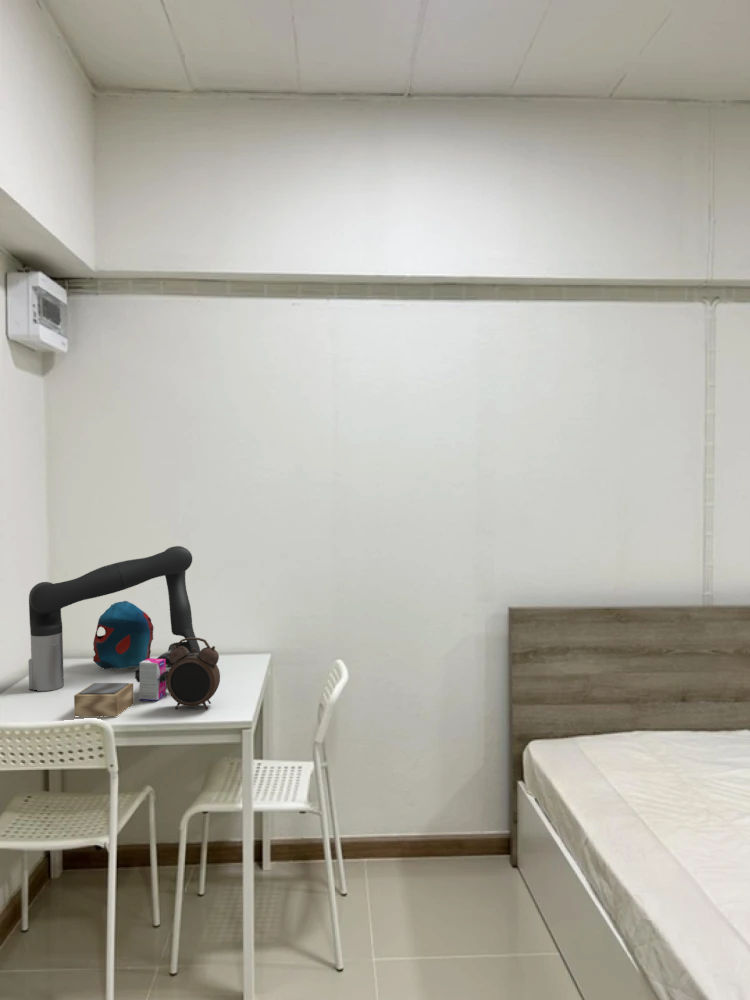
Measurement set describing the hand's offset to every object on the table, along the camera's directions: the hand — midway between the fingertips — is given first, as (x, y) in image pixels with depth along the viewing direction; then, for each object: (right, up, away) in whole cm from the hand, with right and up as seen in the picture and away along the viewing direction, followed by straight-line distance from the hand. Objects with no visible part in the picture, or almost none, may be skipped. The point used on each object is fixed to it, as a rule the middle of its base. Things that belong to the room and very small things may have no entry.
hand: (149, 678), depth 216 cm
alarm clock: (+15, -7, -7) cm, 18 cm away
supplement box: (0, -7, +3) cm, 7 cm away
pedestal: (-10, -7, -8) cm, 15 cm away
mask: (-21, -6, +41) cm, 46 cm away
